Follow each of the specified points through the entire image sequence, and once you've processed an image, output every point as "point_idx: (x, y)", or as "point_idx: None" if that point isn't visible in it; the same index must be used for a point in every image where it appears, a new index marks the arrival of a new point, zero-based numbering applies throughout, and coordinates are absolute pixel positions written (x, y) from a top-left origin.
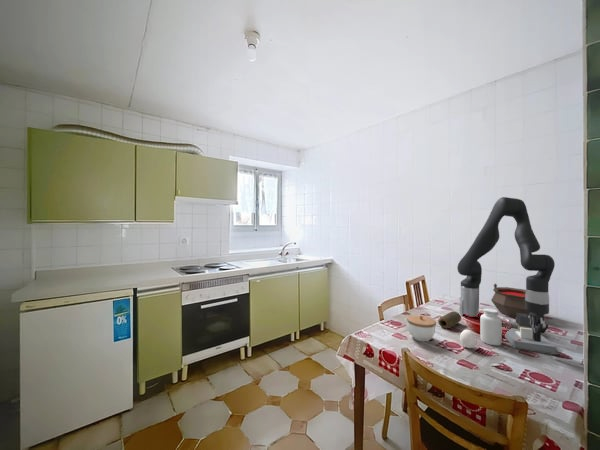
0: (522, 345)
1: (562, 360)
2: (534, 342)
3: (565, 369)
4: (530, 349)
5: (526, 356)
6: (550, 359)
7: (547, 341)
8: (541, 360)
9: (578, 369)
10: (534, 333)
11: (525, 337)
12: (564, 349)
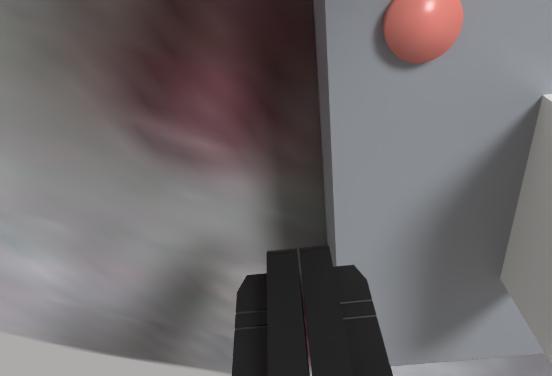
0: (321, 48)
1: (214, 311)
2: (388, 225)
3: (13, 284)
4: (322, 126)
5: (76, 21)
6: (171, 239)
7: (479, 346)
8: (76, 158)
9: (95, 352)
10: (270, 369)
11: (535, 162)
12: (474, 373)
